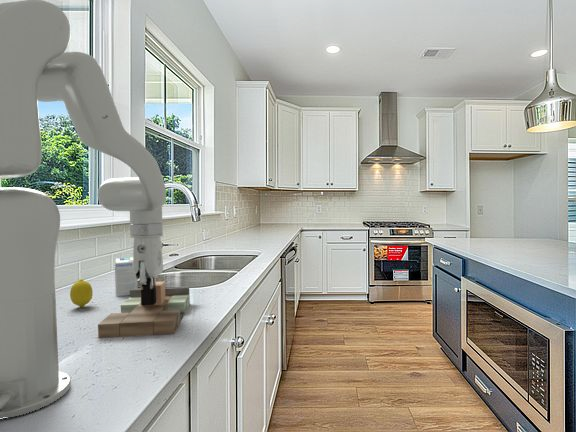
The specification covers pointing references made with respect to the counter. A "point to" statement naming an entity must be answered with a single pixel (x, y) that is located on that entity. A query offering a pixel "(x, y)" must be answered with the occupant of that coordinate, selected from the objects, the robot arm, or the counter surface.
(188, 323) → the counter surface
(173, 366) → the counter surface
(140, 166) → the robot arm
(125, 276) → the light bulb box
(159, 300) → the block
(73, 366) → the counter surface
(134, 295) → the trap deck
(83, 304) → the lemon
